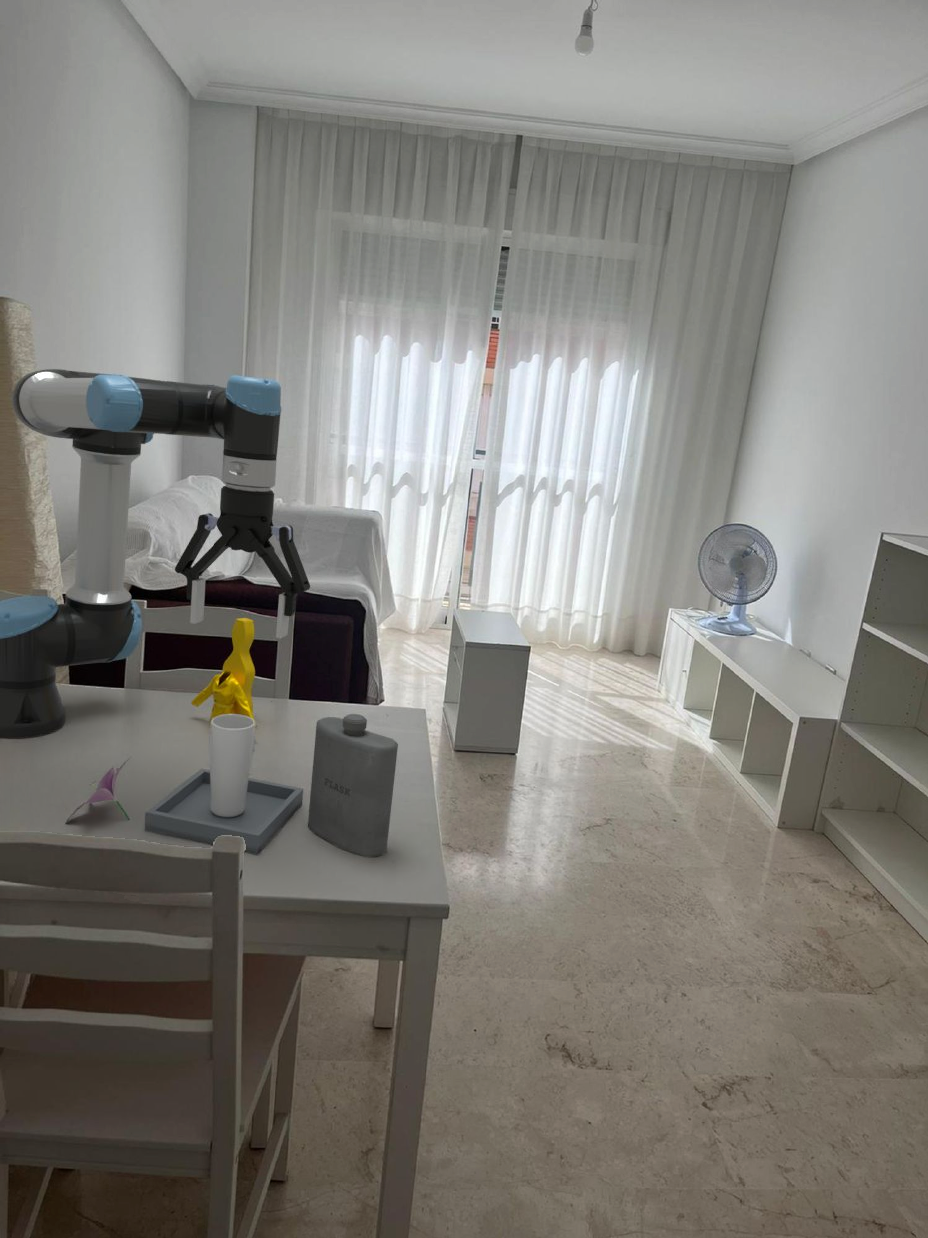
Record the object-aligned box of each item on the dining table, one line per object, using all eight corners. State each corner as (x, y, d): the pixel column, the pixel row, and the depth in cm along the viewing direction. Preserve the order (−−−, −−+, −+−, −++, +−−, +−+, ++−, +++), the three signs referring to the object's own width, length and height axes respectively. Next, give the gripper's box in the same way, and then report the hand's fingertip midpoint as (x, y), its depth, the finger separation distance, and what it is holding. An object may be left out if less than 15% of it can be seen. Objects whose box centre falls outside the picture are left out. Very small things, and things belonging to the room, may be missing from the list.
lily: (129, 800, 148) (100, 750, 146) (173, 797, 141) (143, 744, 139) (69, 847, 139) (37, 795, 137) (113, 846, 132) (80, 790, 130)
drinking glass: (238, 824, 140) (244, 732, 137) (197, 816, 141) (202, 724, 138) (256, 806, 147) (263, 718, 143) (217, 798, 148) (222, 710, 145)
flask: (297, 826, 144) (307, 706, 140) (323, 816, 149) (334, 699, 144) (367, 863, 136) (380, 736, 131) (393, 850, 140) (406, 727, 136)
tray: (144, 830, 137) (145, 812, 136) (200, 785, 154) (201, 768, 154) (257, 854, 134) (258, 835, 134) (302, 805, 152) (303, 788, 151)
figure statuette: (182, 720, 182) (188, 612, 177) (213, 712, 188) (219, 607, 183) (246, 746, 173) (254, 634, 168) (276, 737, 179) (284, 628, 174)
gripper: (155, 476, 131) (149, 620, 136) (321, 500, 127) (309, 648, 132) (180, 474, 138) (174, 610, 143) (338, 496, 134) (326, 636, 139)
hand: (238, 629), depth 137 cm, fingers open, 13 cm apart
